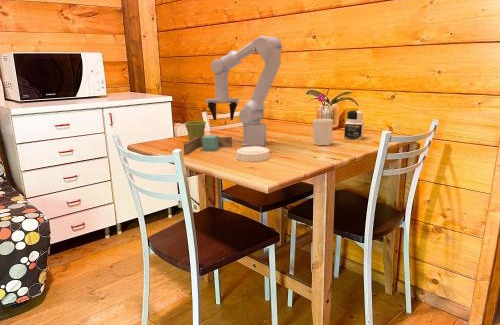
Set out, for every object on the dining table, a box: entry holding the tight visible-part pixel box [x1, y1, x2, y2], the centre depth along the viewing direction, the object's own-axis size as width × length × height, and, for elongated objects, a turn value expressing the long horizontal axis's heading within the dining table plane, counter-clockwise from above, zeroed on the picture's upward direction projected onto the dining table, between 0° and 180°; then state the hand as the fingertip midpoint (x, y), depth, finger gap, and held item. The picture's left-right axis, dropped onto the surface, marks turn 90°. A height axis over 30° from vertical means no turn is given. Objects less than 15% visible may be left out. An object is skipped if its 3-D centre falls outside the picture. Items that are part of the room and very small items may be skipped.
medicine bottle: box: [343, 110, 365, 141], centre depth 164 cm, size 7×7×12 cm
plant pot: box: [184, 120, 207, 141], centre depth 167 cm, size 9×9×9 cm
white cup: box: [312, 118, 334, 146], centre depth 154 cm, size 8×8×10 cm
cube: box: [202, 134, 219, 150], centre depth 152 cm, size 5×5×5 cm
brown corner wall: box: [183, 136, 233, 155], centre depth 151 cm, size 15×15×4 cm
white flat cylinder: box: [235, 146, 271, 163], centre depth 137 cm, size 12×12×4 cm
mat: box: [199, 147, 223, 152], centre depth 153 cm, size 7×7×1 cm
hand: (223, 119), depth 166 cm, fingers open, 7 cm apart
